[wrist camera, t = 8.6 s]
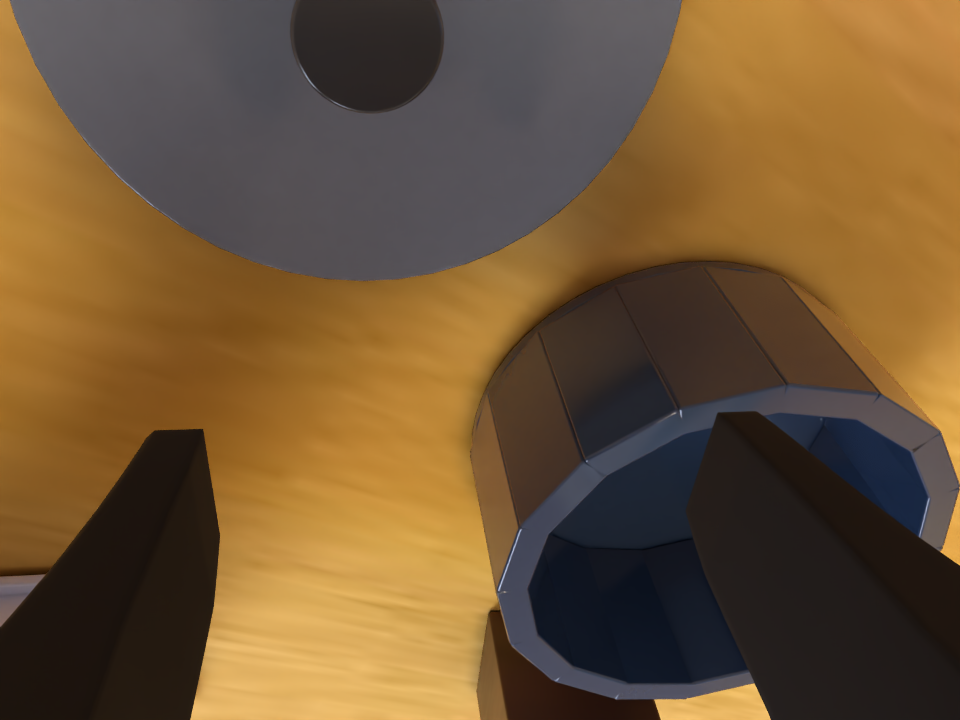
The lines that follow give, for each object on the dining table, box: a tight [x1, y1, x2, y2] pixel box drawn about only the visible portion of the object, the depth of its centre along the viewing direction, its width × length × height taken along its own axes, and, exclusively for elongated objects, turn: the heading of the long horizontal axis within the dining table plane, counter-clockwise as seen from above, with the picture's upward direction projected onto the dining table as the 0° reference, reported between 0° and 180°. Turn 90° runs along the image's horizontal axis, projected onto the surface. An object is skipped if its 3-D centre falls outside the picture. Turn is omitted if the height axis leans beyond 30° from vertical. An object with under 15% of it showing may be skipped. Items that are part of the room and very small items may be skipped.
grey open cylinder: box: [470, 261, 960, 700], centre depth 22 cm, size 12×12×5 cm
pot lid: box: [10, 0, 682, 281], centre depth 14 cm, size 13×13×4 cm
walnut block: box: [477, 612, 661, 720], centre depth 29 cm, size 5×5×5 cm
